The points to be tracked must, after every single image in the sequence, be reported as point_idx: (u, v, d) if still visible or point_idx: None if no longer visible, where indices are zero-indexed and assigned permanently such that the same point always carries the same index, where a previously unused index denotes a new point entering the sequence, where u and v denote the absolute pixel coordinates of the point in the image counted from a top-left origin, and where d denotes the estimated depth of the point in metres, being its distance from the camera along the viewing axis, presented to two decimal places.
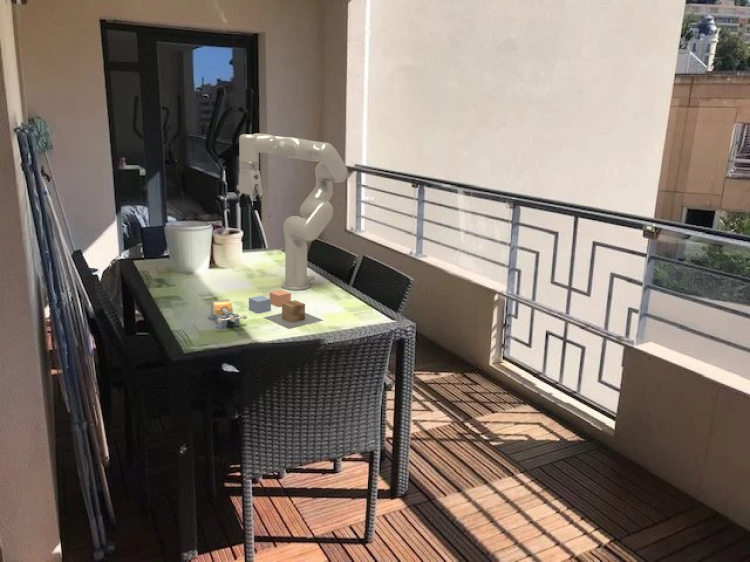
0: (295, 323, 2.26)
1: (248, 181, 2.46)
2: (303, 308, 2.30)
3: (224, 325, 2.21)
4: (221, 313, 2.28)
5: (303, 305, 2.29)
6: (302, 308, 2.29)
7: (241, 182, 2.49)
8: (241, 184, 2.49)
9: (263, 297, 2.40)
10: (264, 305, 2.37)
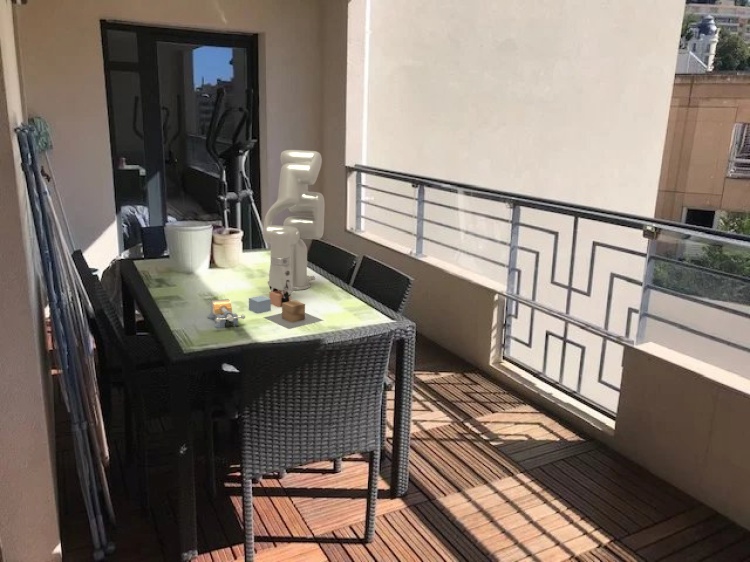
0: (295, 323, 2.26)
1: (279, 277, 2.42)
2: (303, 308, 2.30)
3: (222, 325, 2.22)
4: (220, 313, 2.29)
5: (303, 305, 2.29)
6: (302, 308, 2.29)
7: (272, 277, 2.45)
8: (272, 279, 2.45)
9: (263, 297, 2.40)
10: (264, 305, 2.37)
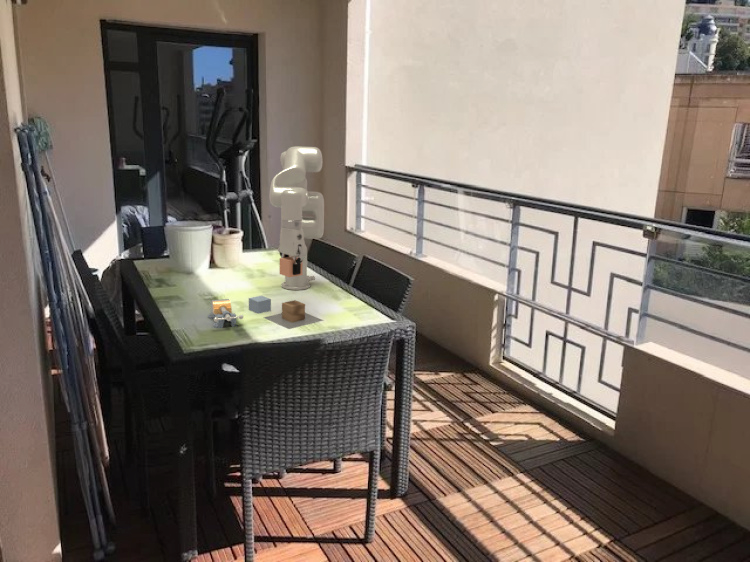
0: (295, 323, 2.26)
1: (291, 241, 2.23)
2: (303, 308, 2.30)
3: (221, 324, 2.22)
4: (220, 312, 2.29)
5: (303, 305, 2.29)
6: (302, 308, 2.29)
7: (282, 241, 2.26)
8: (282, 244, 2.27)
9: (263, 297, 2.40)
10: (264, 305, 2.37)
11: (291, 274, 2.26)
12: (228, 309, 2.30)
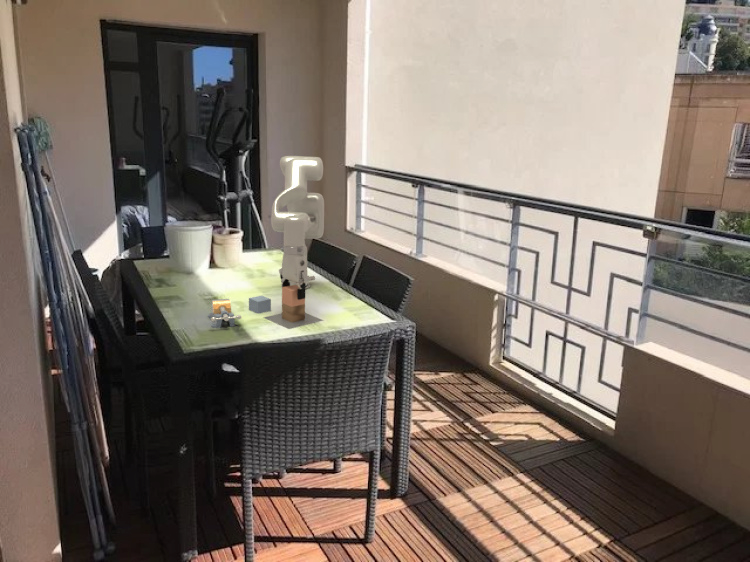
0: (295, 323, 2.26)
1: (293, 267, 2.22)
2: (303, 308, 2.30)
3: (219, 324, 2.22)
4: (219, 312, 2.29)
5: (303, 305, 2.29)
6: (302, 308, 2.29)
7: (285, 267, 2.26)
8: (285, 269, 2.26)
9: (263, 297, 2.40)
10: (264, 305, 2.37)
11: (294, 304, 2.26)
12: (228, 309, 2.30)
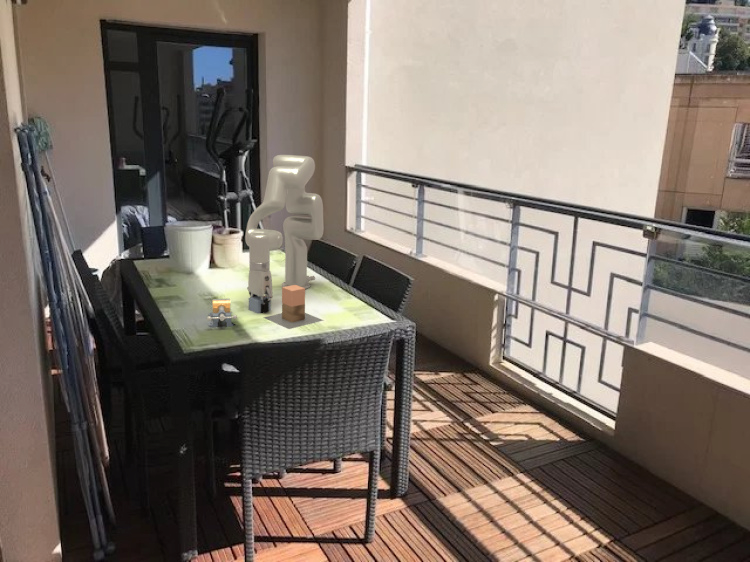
0: (295, 323, 2.26)
1: (258, 283, 2.33)
2: (303, 308, 2.30)
3: (215, 324, 2.22)
4: (218, 311, 2.30)
5: (303, 305, 2.29)
6: (302, 308, 2.29)
7: (251, 282, 2.36)
8: (251, 284, 2.37)
9: None
10: None
11: (294, 304, 2.26)
12: (227, 309, 2.30)
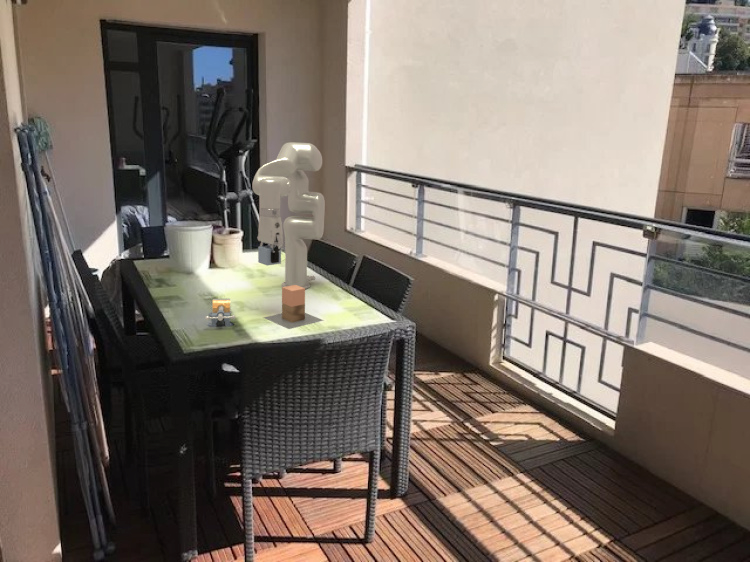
0: (295, 323, 2.26)
1: (268, 229, 2.25)
2: (303, 308, 2.30)
3: (214, 323, 2.22)
4: (218, 311, 2.30)
5: (303, 305, 2.29)
6: (302, 308, 2.29)
7: (261, 230, 2.28)
8: (261, 232, 2.29)
9: None
10: None
11: (294, 304, 2.26)
12: (226, 308, 2.30)
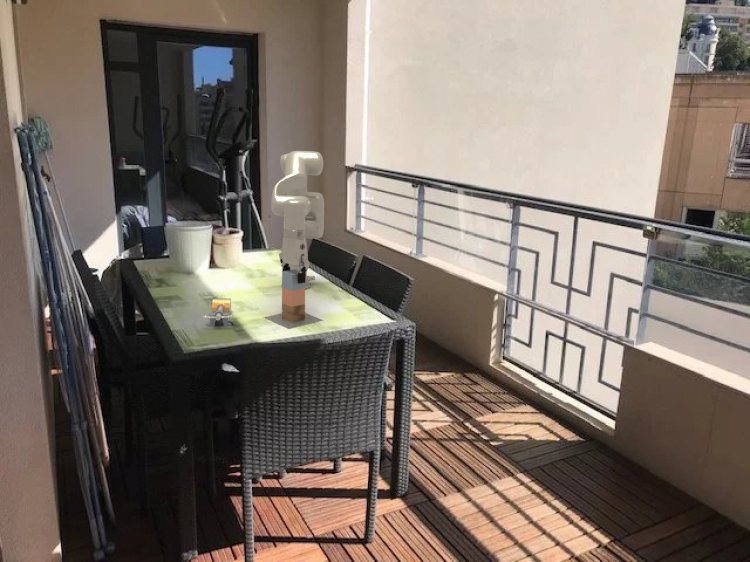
0: (295, 323, 2.26)
1: (293, 251, 2.21)
2: (303, 308, 2.29)
3: (212, 323, 2.23)
4: None
5: (303, 305, 2.29)
6: (302, 308, 2.29)
7: (285, 251, 2.24)
8: (285, 253, 2.25)
9: (297, 271, 2.28)
10: None
11: (294, 304, 2.26)
12: (226, 308, 2.30)
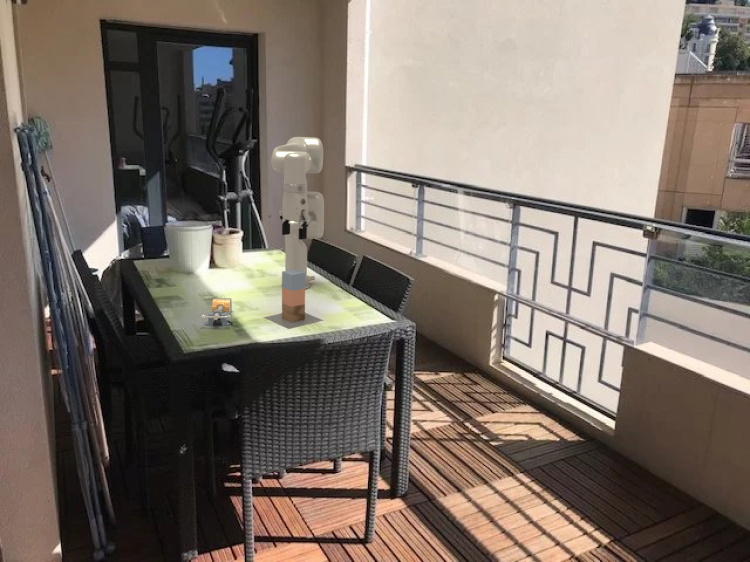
0: (295, 323, 2.26)
1: (294, 206, 2.17)
2: (303, 308, 2.29)
3: (210, 322, 2.23)
4: None
5: (303, 305, 2.29)
6: (302, 308, 2.29)
7: (285, 207, 2.20)
8: (285, 209, 2.20)
9: (297, 271, 2.28)
10: (299, 279, 2.25)
11: (294, 304, 2.26)
12: (226, 308, 2.31)
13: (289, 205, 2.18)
